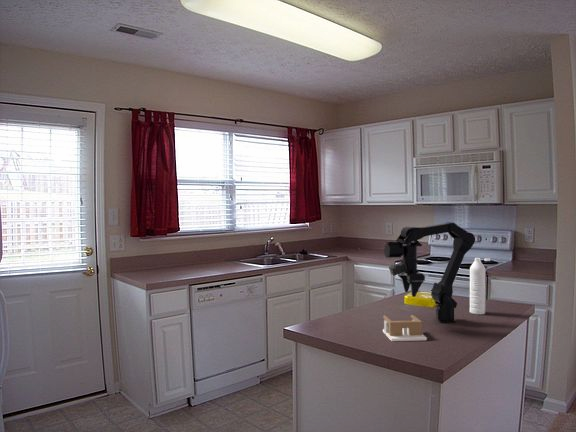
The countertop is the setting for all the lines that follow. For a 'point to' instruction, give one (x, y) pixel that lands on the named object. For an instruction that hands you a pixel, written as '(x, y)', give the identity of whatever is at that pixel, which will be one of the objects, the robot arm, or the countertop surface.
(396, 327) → the wooden c-shaped bracket
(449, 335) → the countertop surface
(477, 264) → the water bottle
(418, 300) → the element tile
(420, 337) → the display stand
